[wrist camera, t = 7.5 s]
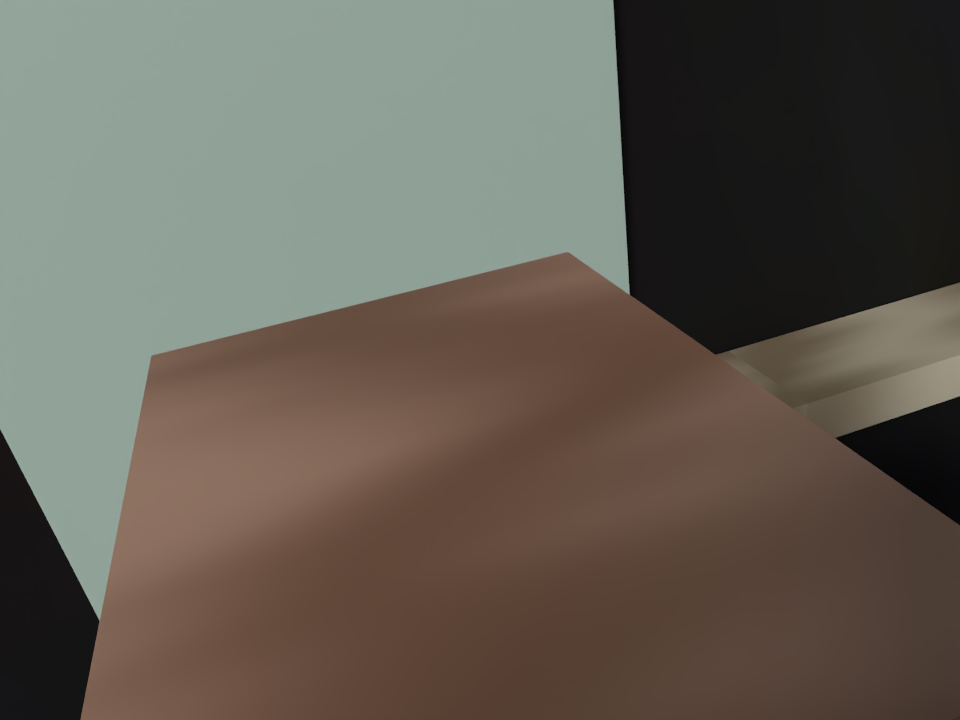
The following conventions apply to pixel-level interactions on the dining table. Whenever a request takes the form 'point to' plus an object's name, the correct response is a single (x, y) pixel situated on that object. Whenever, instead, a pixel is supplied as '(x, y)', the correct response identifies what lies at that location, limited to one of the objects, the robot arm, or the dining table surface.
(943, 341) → the pine frame
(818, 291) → the dining table surface
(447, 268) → the sage board
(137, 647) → the terracotta block
